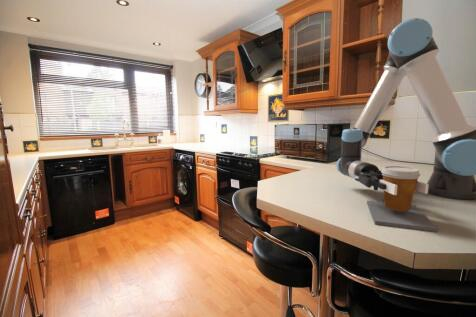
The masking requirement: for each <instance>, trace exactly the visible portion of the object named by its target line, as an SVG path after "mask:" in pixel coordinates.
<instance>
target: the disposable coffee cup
mask: <svg viewBox="0 0 476 317" xmlns="http://www.w3.org/2000/svg"><path fill="white" fill-rule="evenodd" d="M380 171H381V172H382V175H383V180H384V181H387V182H390V183H392V184H395V185H397V195H393V194H391V193H388V192H386V191H384V190H383V199H384V202H385V207H387V208H389V209H391V210H395V211H409V210H410V207H411V205H412V203H413V198H414V196H415V192H416V190H415V188H416V184H417V181H419V180H418V179H419V178H420V176H421V174H420V170H419V169H418V168H414V167H410V166H401V165H386V166H383V167H382V170H380Z"/></svg>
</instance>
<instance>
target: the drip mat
mask: <svg viewBox="0 0 476 317" xmlns="http://www.w3.org/2000/svg"><path fill="white" fill-rule="evenodd" d="M366 205H367V208H368V210H369V214H370V215H371V218H372V220H373V221H372V222H373V223H374V225H378V226H387V227H392V228H393V227H394V228H401V229H402V228H403V229H410V230H419V231H425V232H433V233H434V232H436V233H437V232H438V227H437V226H436V225H435V223H433V222H432V221H431V220H430V218H429V217H428V216H426V214H425V213H424V212H423V211H422V210H421V209H420V207H418V206H417V205H416V204H411V207H410V210H409V211H395V210H391V209H389V208H387V207H385V201H374V200H366Z"/></svg>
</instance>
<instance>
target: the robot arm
mask: <svg viewBox="0 0 476 317" xmlns="http://www.w3.org/2000/svg"><path fill="white" fill-rule="evenodd" d="M387 49H388V56H387V59H386V62H385V63H384V66H383V69H384V70H383V73H382V74H381V77H380V78H379V80H378V82H377V84H376V85H375V87H374V89H373V91H372V92H371V94H370V97H369V98H368V100H367V102H366V104H365V106H364V107H363V110H362V111H361V113H360V116H359V117H358V119H357V120H356V123H355V124H354V126H353V128H347V129H343V130H342V133H341V138H340V139H341V148H340V150H341V153H340V158H339V159H338V160H336V161H337V162H336V166H335V168H336V170H337V171H338V172H339V173H340V174H342V175H344V176H346V177H349V178H351V179H354V180H355V181H356V182H358V183H360V184H362V185H364V187H365V188H372V187H373V190H374V191H378V190H379V189H380V190H382V191H383V192H384V191H386V192H388V193H391V194H393V195H397V185H395V184H392V183H390V182H387V181H384V180H383V175H382V172H381V171H382V170H380V169H379V168H378V166H377V165H375V164H373V163H369V162H367V161H363V160H362V150H363V149H362V148H364V147H365V146H366V144H367V142H368V140H369V138H370V136H371V134H372V132H373V131H374V129H375V128H376V126H377V124H378V122H379V120H380V119H381V118H382V116H383V114H384V112H385V110H386V109H387V107H388V105H389V104H390V102H391V100H392V98H393V97H394V95H395V93H396V91H397V90H398V88H399V87H400V84H401V83H402V81H403V79H404V78H405V77H407V78H408V80H409V83H410V85H411V87H412V90H413V91H414V93H415V95H416V97H417V99H418V101H419V103H420V105H421V108H422V110H423V112H424V114H425V117H426V119H427V120H428V123H429V125H430V127H431V129H432V131H433V133H434V137H433V139H432V141H431V142H432V144H433V147H434V148H435V151H434V162H433V171H432V173H431V175H430V176H429V178H428V181H427V182H426V183H425V182H422V181H419V180H417V184H416V188H415V192H420V193H422V194H424V195H426V194H427V195H428V194H429V193H430V194H431V195H435V196H439V197H443V198H450V199H457V200H458V199H459V200H475V199H476V177H475V175H476V126H474V125H471V124H469V123H468V121H467V119H466V117H465V115H464V113H463V111H462V109H461V107H460V104H459V103H458V100H457V99H456V96H455V95H454V92H453V90H452V88H451V86H450V84H449V82H448V80H447V78H446V76H445V74H444V71H443V70H442V68H441V66H440V64H439V61H438V60H437V55H438V54H439V52H440V49H439V48H438V45H437V43H436V41H435V39H434V37H433V27H432V25H431V24H430V22H428V21H427V20H426V19H423V18H419V17H416V18H415V17H413V18H409V19H406V20H404V21H402V22H400V23H398V24H397V25H396V26H395V27H394V28H393V29H392V31H391V32H390V34H389V36H388V39H387Z"/></svg>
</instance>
